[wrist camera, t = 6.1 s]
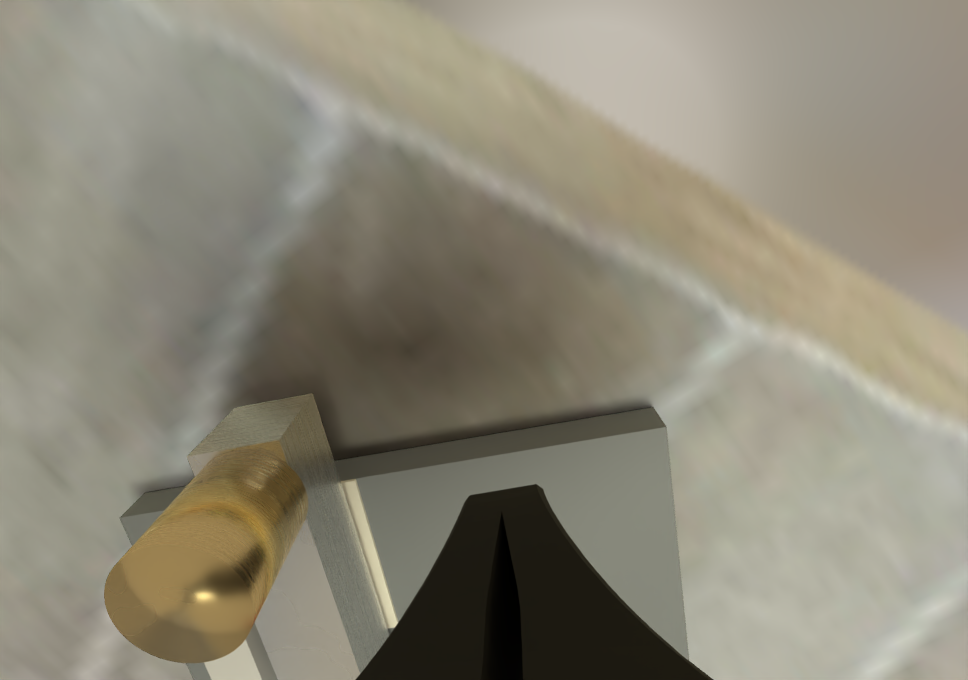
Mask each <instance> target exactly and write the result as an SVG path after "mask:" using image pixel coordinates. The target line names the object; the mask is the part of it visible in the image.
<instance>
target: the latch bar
mask: <svg viewBox="0 0 968 680" xmlns="http://www.w3.org/2000/svg"><path fill="white" fill-rule="evenodd" d="M187 459H188V461H189V464H190V466H191V468H192V471H193V473H194V476H195V477H194V478H193V479H192V481H191V482H190V483H189V484H188V485H187V486H186V487H185V488H184V489H183V491H182V492H181V493H180V494H179V495H178V496H177V497H176V498H175V499H174V501H173V502H172V503H171V504H170V505H169V506H168V507H167V508H166V509H165V511H164V512H163V513H162V514H161V515H160V516H159V517H158V518H157V519H156V520H155V522H154V523H153V524H152V525H151V526H150V527H149V528H148V529H147V530H146V532H145V533H144V534H143V535H142V536H141V537H140V538H139V539H138V540H137V542H136V543H135V544H134V545H133V546H132V547H131V548H130V549H129V550H128V552H127V553H126V554H125V555H124V556H123V557H122V558H121V559H120V560H119V562H118V563H117V564H116V565H115V566H114V567H113V569H112V570H111V572H110V573H109V575H108V578H107V580H106V584H105V590H104V598H105V605H106V609H107V612H108V614H109V616H110V618H111V620H112V622H113V623H114V625H115V626H116V628H117V629H118V630H119V632H120V633H121V634H122V635H123V636H124V637H125V638H126V639H127V640H129V641H130V642H131V643H132V644H134V645H135V646H137V647H138V648H140V649H141V650H143V651H145V652H147V653H149V654H151V655H153V656H156V657H158V658H162V659H165V660H168V661H173V662H180V663H203V662H209V661H213V660H216V659H219V658H222V657H224V656H226V655H228V654H230V653H231V652H233V651H234V650H236V649H237V648H238V647H239V646H240V645H241V644H242V643H243V642H244V641H245V639H246V638H247V636H248V634H249V633H250V631H251V629H252V627H253V624H254V623H255V625H256V627H257V630H258V632H259V635H260V637H261V640H262V642H263V645H264V647H265V650H266V652H267V654H268V657H269V659H270V662H271V664H272V667H273V669H274V672H275V674H276V676H277V679H278V680H355V679H356V678H357V677H358V676H359V675H360V674H361V672H362V671H363V670H364V668H365V667H366V666H367V665H368V663H369V662H370V661H371V659H372V658H373V657H374V655H375V654H376V653H377V651H378V650H379V649H380V648H381V646H382V645H383V643H384V642H385V641H386V639H387V638H388V637H389V632H388V629H387V625H386V622H385V619H384V616H383V613H382V610H381V607H380V603H379V600H378V597H377V594H376V591H375V588H374V584H373V581H372V578H371V575H370V572H369V569H368V566H367V562H366V559H365V556H364V553H363V550H362V547H361V543H360V540H359V537H358V534H357V531H356V528H355V525H354V521H353V518H352V515H351V512H350V509H349V506H348V503H347V499H346V496H345V493H344V490H343V487H342V484H341V480H340V477H339V474H338V471H337V468H336V465H335V462H334V458H333V455H332V452H331V449H330V446H329V443H328V439H327V436H326V433H325V430H324V427H323V424H322V421H321V417H320V414H319V411H318V408H317V405H316V402H315V398H314V395H313V393H311V394H306V395H300V396H295V397H289V398H284V399H279V400H273V401H268V402H262V403H257V404H251V405H246V406H241V407H235V408H234V409H233V410H232V411H231V412H230V413H229V414H228V415H227V416H226V417H225V418H224V419H223V420H222V421H221V422H220V423H219V424H218V425H217V426H216V428H215V429H214V430H213V431H212V432H211V433H210V434H209V435H208V436H207V437H206V438H205V439H204V440H203V441H202V442H201V443H200V444H199V445H198V446H197V447H196V448H195V449H194V450H193V451H192V452H191V453H190V454H189V455H188V456H187Z"/></svg>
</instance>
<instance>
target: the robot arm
mask: <svg viewBox="0 0 968 680" xmlns="http://www.w3.org/2000/svg"><path fill="white" fill-rule="evenodd" d="M355 680H713V679H712V678H710V677H709V676H708V675H707V674H705V673H704V672H703V671H701V670H700V669H699V668H698V667H696V666H695V665H694V664H692V663H691V662H690V661H689V660H687V659H686V658H685V657H683V656H682V655H681V654H680V653H679V652H678V651H676V650H675V649H674V648H673V647H672V646H671V645H670V644H669V643H667V642H666V641H665V640H664V639H663V638H662V637H661V636H660V635H658V634H657V633H656V632H655V631H654V630H653V629H652V628H651V627H650V626H649V625H648V624H647V623H646V622H644V621H643V620H642V619H641V618H640V617H639V616H638V615H637V614H636V613H635V612H634V611H633V610H632V609H631V608H630V607H629V606H628V605H627V604H626V603H625V602H624V601H623V600H622V599H621V598H620V597H619V596H618V594H617V593H616V592H615V591H614V590H613V589H612V588H611V587H610V586H609V585H608V583H607V582H606V581H605V580H604V579H603V578H602V577H601V575H600V574H599V573H598V572H597V571H596V570H595V569H594V567H593V566H592V565H591V564H590V562H589V561H588V560H587V559H586V558H585V556H584V555H583V554H582V552H581V551H580V550H579V548H578V547H577V546H576V544H575V543H574V542H573V540H572V539H571V538H570V536H569V535H568V533H567V532H566V531H565V529H564V528H563V526H562V525H561V523H560V521H559V520H558V518H557V517H556V515H555V513H554V512H553V510H552V508H551V506H550V504H549V502H548V500H547V498H546V496H545V493H544V490H543V488H541V487H540V486H538V485H537V484H533V485H527V486H521V487H515V488H509V489H504V490H498V491H492V492H486V493H480V494H474V495H469V497H468V498H467V499H466V501H465V502H464V504H463V507H462V509H461V511H460V514H459V516H458V518H457V520H456V523H455V525H454V527H453V529H452V531H451V533H450V535H449V537H448V539H447V541H446V543H445V545H444V547H443V549H442V550H441V552H440V554H439V556H438V558H437V560H436V561H435V563H434V565H433V567H432V569H431V571H430V572H429V574H428V576H427V578H426V579H425V581H424V583H423V584H422V586H421V588H420V589H419V591H418V592H417V594H416V596H415V597H414V599H413V600H412V602H411V603H410V605H409V607H408V608H407V610H406V611H405V613H404V615H403V616H402V618H401V619H400V621H399V622H398V624H397V625H396V626H395V628H394V629H393V631H392V632H391V634H390V635H389V637H388V638H387V639H386V641H385V642H384V643H383V645H382V646H381V648H380V649H379V650H378V651H377V653H376V654H375V655H374V657H373V658H372V659H371V661H370V662H369V663H368V665H367V666H366V667H365V668H364V670H363V671H362V672H361V674H360V675H359V676H358V677H357V678H356V679H355Z"/></svg>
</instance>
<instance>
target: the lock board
mask: <svg viewBox="0 0 968 680" xmlns="http://www.w3.org/2000/svg"><path fill="white" fill-rule="evenodd" d="M334 462H335V465H336V468H337V471H338V474H339V477H340V480H341V484H342V487H343V490H344V493H345V496H346V499H347V503H348V506H349V509H350V512H351V515H352V518H353V521H354V525H355V528H356V531H357V534H358V537H359V540H360V543H361V547H362V550H363V553H364V556H365V559H366V562H367V566H368V569H369V572H370V575H371V578H372V581H373V584H374V588H375V591H376V594H377V597H378V600H379V603H380V607H381V610H382V613H383V616H384V619H385V622H386V625H387V629H388V632H389V635H390V634H391V632H392V631H393V629H394V628H395V626H396V625H397V624H398V622H399V621H400V619H401V618H402V616H403V615H404V613H405V611H406V610H407V608H408V607H409V605H410V603H411V602H412V600H413V599H414V597H415V596H416V594H417V592H418V591H419V589H420V588H421V586H422V584H423V583H424V581H425V579H426V578H427V576H428V574H429V572H430V571H431V569H432V567H433V565H434V563H435V561H436V560H437V558H438V556H439V554H440V552H441V550H442V549H443V547H444V545H445V543H446V541H447V539H448V537H449V535H450V533H451V531H452V529H453V527H454V525H455V523H456V520H457V518H458V516H459V514H460V511H461V509H462V507H463V504H464V502H465V501H466V499H467V498H468V497H469V495H474V494H480V493H486V492H492V491H498V490H504V489H509V488H515V487H521V486H527V485H533V484H537V485H538V486H540V487H541V488H543V490H544V493H545V496H546V498H547V500H548V502H549V504H550V506H551V508H552V510H553V512H554V513H555V515H556V517H557V518H558V520H559V521H560V523H561V525H562V526H563V528H564V529H565V531H566V532H567V533H568V535H569V536H570V538H571V539H572V540H573V542H574V543H575V544H576V546H577V547H578V548H579V550H580V551H581V552H582V554H583V555H584V556H585V558H586V559H587V560H588V561H589V562H590V564H591V565H592V566H593V567H594V569H595V570H596V571H597V572H598V573H599V574H600V575H601V577H602V578H603V579H604V580H605V581H606V582H607V583H608V585H609V586H610V587H611V588H612V589H613V590H614V591H615V592H616V593H617V594H618V596H619V597H620V598H621V599H622V600H623V601H624V602H625V603H626V604H627V605H628V606H629V607H630V608H631V609H632V610H633V611H634V612H635V613H636V614H637V615H638V616H639V617H640V618H641V619H642V620H643V621H644V622H646V623H647V624H648V625H649V626H650V627H651V628H652V629H653V630H654V631H655V632H656V633H657V634H658V635H660V636H661V637H662V638H663V639H664V640H665V641H666V642H667V643H669V644H670V645H671V646H672V647H673V648H674V649H675V650H676V651H678V652H679V653H680V654H681V655H682V656H683V657H685V658H686V659H687V660H689V654H688V644H687V633H686V623H685V613H684V602H683V592H682V582H681V572H680V561H679V551H678V541H677V530H676V520H675V510H674V500H673V489H672V479H671V469H670V459H669V448H668V438H667V428H666V426H665V424H664V423H663V421H662V420H661V418H660V417H659V415H658V414H657V412H656V411H655V409H654V408H653V407H652V408H646V409H640V410H634V411H628V412H622V413H616V414H610V415H604V416H598V417H592V418H586V419H580V420H575V421H569V422H563V423H557V424H551V425H545V426H539V427H533V428H527V429H521V430H515V431H509V432H503V433H498V434H492V435H486V436H480V437H474V438H468V439H462V440H456V441H450V442H444V443H438V444H432V445H426V446H420V447H415V448H409V449H403V450H397V451H391V452H385V453H379V454H373V455H367V456H361V457H355V458H349V459H343V460H338V461H334ZM185 487H186V486H183V487H178V488H172V489H166V490H160V491H154V492H148V493H144V494H143V495H142V496H141V497H140V498H139V499H138V500H137V501H136V502H135V503H134V504H133V505H132V506H131V507H130V508H129V509H128V510H127V511H126V512H125V513H124V514H123V515H122V516H121V517H120V520H121V522H122V525H123V527H124V529H125V531H126V533H127V535H128V538H129V540H130V542H131V544H132V546H133V545H134V544H135V543H136V542H137V540H138V539H139V538H140V537H141V536H142V535H143V534H144V533H145V532H146V530H147V529H148V528H149V527H150V526H151V525H152V524H153V523H154V522H155V520H156V519H157V518H158V517H159V516H160V515H161V514H162V513H163V512H164V511H165V509H166V508H167V507H168V506H169V505H170V504H171V503H172V502H173V501H174V499H175V498H176V497H177V496H178V495H179V494H180V493H181V492H182V491H183V489H184V488H185ZM186 664H187V666H188V668H189V671H190V673H191V675H192V677H193V679H194V680H278V679H277V676H276V674H275V672H274V669H273V667H272V664H271V662H270V659H269V657H268V654H267V652H266V650H265V647H264V645H263V642H262V640H261V637H260V635H259V632H258V630H257V627H256V625H255V623H254V624H253V627H252V629H251V631H250V633H249V634H248V636H247V638H246V639H245V641H244V642H243V643H242V644H241V645H240V646H239V647H238V648H237V649H236V650H234V651H233V652H231V653H230V654H228V655H226V656H224V657H222V658H219V659H216V660H213V661H209V662H203V663H186Z"/></svg>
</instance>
